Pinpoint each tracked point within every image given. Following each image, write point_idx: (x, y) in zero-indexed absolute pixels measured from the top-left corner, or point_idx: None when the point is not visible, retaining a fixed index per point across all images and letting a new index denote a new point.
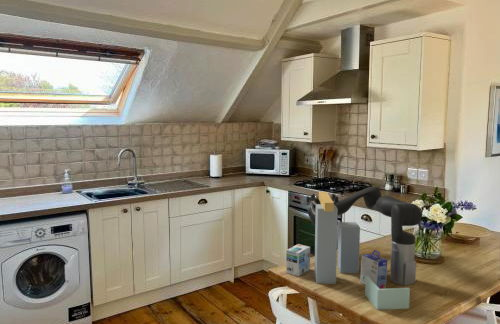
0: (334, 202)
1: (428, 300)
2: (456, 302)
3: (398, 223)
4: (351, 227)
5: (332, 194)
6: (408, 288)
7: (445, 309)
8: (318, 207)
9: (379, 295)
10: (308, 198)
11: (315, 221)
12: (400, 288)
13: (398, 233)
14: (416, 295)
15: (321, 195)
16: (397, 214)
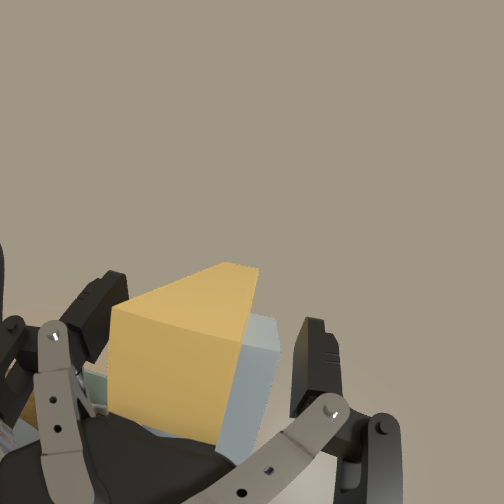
0: (5, 418)
1: (33, 391)
2: (8, 370)
3: (2, 289)
4: (35, 428)
5: (118, 282)
6: (84, 369)
7: None
8: (270, 324)
9: None
10: (363, 423)
11: (254, 442)
12: (96, 374)
13: (1, 319)
14: (32, 406)
15: (248, 290)
16: (2, 261)
